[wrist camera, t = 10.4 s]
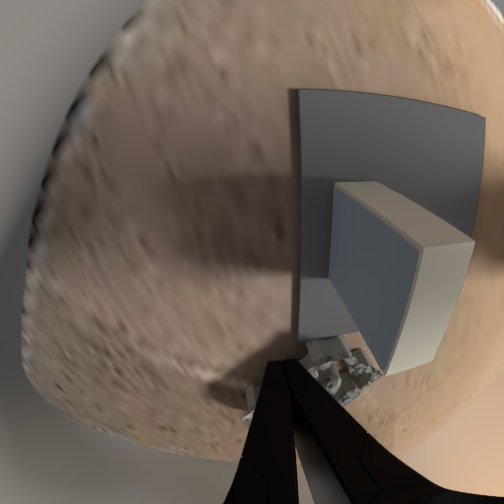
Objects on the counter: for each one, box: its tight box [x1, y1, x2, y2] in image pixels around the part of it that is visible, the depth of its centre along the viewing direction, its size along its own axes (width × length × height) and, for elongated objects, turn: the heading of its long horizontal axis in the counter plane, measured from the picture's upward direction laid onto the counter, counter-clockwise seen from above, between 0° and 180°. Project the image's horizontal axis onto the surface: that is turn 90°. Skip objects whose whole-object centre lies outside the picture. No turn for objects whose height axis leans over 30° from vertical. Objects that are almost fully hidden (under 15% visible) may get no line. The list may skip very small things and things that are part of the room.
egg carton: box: [240, 335, 383, 425], centre depth 21 cm, size 11×8×4 cm
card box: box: [328, 181, 475, 376], centre depth 13 cm, size 3×6×8 cm, turn 3°
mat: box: [297, 89, 486, 342], centre depth 17 cm, size 14×16×1 cm
